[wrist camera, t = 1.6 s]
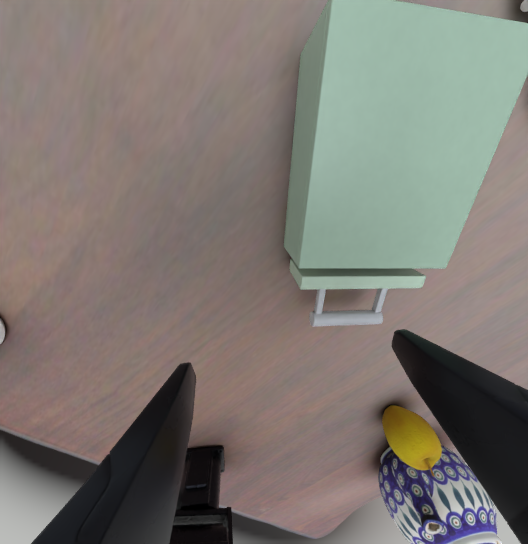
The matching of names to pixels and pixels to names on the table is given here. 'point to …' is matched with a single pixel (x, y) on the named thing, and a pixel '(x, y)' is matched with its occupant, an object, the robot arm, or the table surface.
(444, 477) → the teapot
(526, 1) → the toy car
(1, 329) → the can
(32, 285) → the table surface
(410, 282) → the drawer
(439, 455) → the apple
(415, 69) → the cabinet
